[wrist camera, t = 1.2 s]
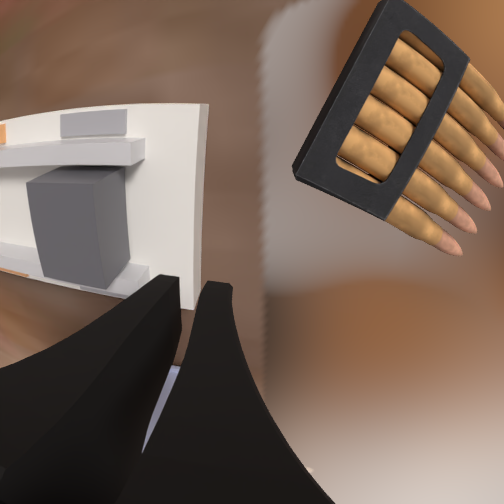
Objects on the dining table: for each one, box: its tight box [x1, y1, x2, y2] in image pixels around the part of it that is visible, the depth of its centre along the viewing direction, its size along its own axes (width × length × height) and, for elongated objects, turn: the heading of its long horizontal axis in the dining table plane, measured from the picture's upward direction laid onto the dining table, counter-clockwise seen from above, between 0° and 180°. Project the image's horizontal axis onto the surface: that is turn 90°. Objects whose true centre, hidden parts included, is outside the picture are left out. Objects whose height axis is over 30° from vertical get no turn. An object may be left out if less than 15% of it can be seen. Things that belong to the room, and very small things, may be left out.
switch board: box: [0, 103, 209, 310], centre depth 15 cm, size 11×18×4 cm, turn 84°
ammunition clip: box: [292, 0, 504, 256], centre depth 13 cm, size 11×2×12 cm
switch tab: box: [26, 166, 130, 290], centre depth 13 cm, size 5×4×3 cm
